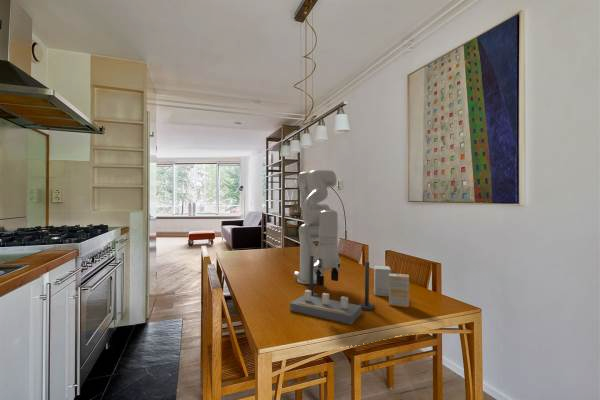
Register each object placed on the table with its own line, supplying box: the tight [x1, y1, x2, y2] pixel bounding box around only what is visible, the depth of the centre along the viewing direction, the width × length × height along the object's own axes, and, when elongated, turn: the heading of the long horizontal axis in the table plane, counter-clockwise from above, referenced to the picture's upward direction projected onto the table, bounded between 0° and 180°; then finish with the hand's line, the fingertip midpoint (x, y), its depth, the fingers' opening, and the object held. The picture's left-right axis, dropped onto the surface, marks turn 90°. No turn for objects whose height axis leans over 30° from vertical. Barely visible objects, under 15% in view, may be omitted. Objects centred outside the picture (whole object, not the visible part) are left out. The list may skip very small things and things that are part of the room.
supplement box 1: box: [373, 265, 392, 297], centre depth 142 cm, size 7×7×13 cm
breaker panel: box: [289, 294, 363, 325], centre depth 118 cm, size 26×12×3 cm, turn 61°
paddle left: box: [304, 289, 311, 301], centre depth 122 cm, size 2×2×4 cm
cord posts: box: [309, 256, 375, 311], centre depth 130 cm, size 32×6×19 cm, turn 61°
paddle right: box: [340, 295, 349, 309], centre depth 114 cm, size 2×2×4 cm
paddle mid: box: [321, 292, 330, 305], centre depth 118 cm, size 2×2×4 cm
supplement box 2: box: [388, 272, 410, 309], centre depth 127 cm, size 8×5×13 cm, turn 71°
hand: (327, 282), depth 120 cm, fingers open, 9 cm apart
